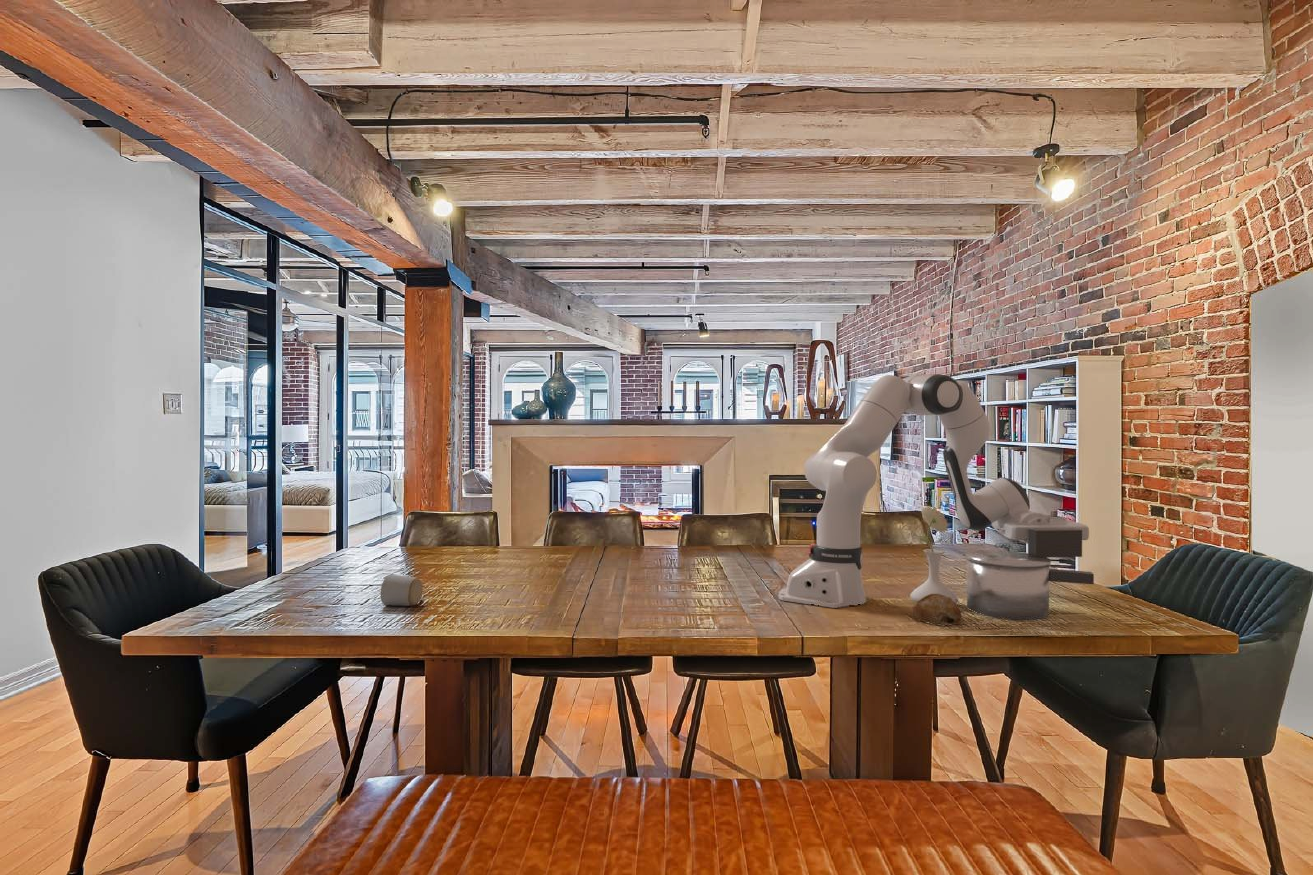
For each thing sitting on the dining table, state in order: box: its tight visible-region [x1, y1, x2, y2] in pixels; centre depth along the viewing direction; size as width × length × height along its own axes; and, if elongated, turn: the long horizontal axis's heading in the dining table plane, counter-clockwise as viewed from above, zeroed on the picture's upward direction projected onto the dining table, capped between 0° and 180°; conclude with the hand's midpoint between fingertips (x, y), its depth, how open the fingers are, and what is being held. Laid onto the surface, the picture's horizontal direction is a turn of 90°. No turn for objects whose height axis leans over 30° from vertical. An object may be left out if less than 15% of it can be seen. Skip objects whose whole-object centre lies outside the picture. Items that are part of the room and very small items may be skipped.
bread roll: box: [913, 594, 962, 626], centre depth 157 cm, size 10×10×8 cm
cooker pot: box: [966, 559, 1095, 622], centre depth 164 cm, size 27×18×12 cm, turn 68°
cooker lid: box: [965, 528, 1083, 568], centre depth 166 cm, size 28×19×8 cm
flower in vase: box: [909, 505, 959, 604], centre depth 172 cm, size 13×11×25 cm
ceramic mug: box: [379, 573, 424, 607], centre depth 172 cm, size 11×8×8 cm
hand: (1062, 536), depth 169 cm, fingers closed
